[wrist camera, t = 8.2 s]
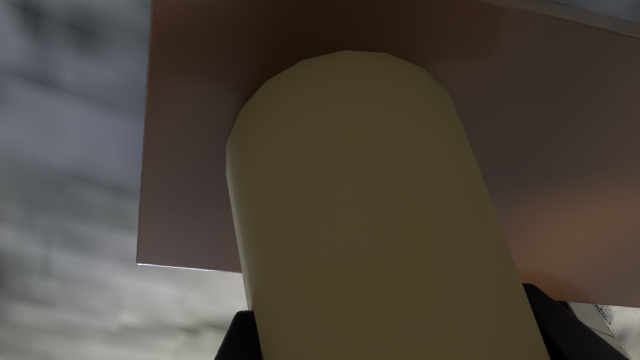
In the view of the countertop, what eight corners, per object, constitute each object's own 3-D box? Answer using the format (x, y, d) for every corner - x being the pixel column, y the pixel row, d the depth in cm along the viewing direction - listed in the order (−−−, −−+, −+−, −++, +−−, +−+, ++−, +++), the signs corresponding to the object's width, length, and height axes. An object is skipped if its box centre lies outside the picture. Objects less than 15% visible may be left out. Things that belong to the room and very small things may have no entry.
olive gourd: (171, 157, 12) (-21, 1076, 3) (377, -9, 10) (1085, 1075, 2) (324, 278, 15) (426, 908, 7) (502, 168, 13) (960, 843, 5)
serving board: (144, 228, 15) (135, 264, 14) (166, -96, 10) (155, -82, 9) (628, 278, 20) (652, 310, 18) (814, 67, 14) (865, 92, 13)
